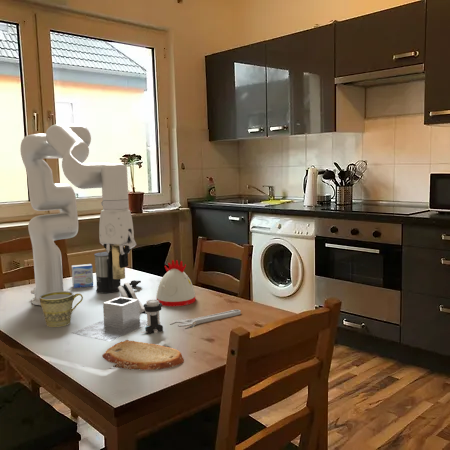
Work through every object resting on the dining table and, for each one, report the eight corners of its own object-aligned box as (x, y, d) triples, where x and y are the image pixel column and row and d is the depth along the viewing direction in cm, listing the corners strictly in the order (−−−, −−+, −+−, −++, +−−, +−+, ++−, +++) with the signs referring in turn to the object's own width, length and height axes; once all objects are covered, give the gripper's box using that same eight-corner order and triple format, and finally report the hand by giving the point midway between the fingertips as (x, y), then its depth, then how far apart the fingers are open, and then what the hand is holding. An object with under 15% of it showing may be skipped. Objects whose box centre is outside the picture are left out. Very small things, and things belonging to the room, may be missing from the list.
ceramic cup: (45, 334, 153) (43, 301, 152) (38, 325, 162) (35, 294, 160) (89, 325, 160) (87, 294, 159) (79, 317, 169) (77, 287, 167)
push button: (145, 340, 147) (143, 305, 145) (137, 335, 151) (136, 301, 150) (166, 335, 150) (165, 301, 149) (158, 330, 155) (157, 297, 153)
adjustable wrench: (237, 313, 171) (237, 308, 171) (248, 318, 166) (247, 313, 166) (167, 326, 159) (167, 320, 159) (176, 332, 154) (176, 326, 153)
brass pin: (110, 278, 156) (108, 245, 155) (118, 276, 159) (117, 243, 158) (119, 279, 154) (118, 246, 153) (127, 277, 157) (126, 244, 156)
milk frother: (90, 291, 202) (88, 254, 200) (120, 283, 215) (119, 247, 213) (116, 296, 194) (114, 257, 192) (145, 287, 206) (144, 250, 204)
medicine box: (73, 288, 207) (72, 267, 206) (72, 285, 211) (71, 265, 210) (93, 286, 210) (92, 265, 209) (92, 283, 214) (91, 263, 213)
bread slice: (189, 364, 130) (188, 349, 129) (119, 381, 121) (119, 365, 120) (160, 342, 145) (159, 329, 145) (96, 356, 136) (96, 342, 136)
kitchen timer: (186, 307, 178) (184, 264, 176) (150, 304, 182) (148, 262, 180) (201, 297, 191) (199, 257, 189) (166, 294, 195) (165, 255, 193)
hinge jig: (71, 336, 151) (69, 309, 150) (116, 318, 167) (114, 294, 166) (110, 344, 143) (108, 316, 142) (152, 324, 160) (151, 299, 159)
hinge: (148, 314, 170) (136, 287, 168) (134, 320, 169) (122, 294, 167) (138, 301, 186) (127, 276, 184) (126, 307, 185) (115, 282, 182)
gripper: (86, 205, 155) (89, 266, 157) (128, 207, 146) (131, 271, 149) (104, 203, 161) (106, 261, 163) (145, 205, 153) (148, 266, 155)
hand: (118, 265), depth 156 cm, fingers closed on brass pin, 3 cm apart
